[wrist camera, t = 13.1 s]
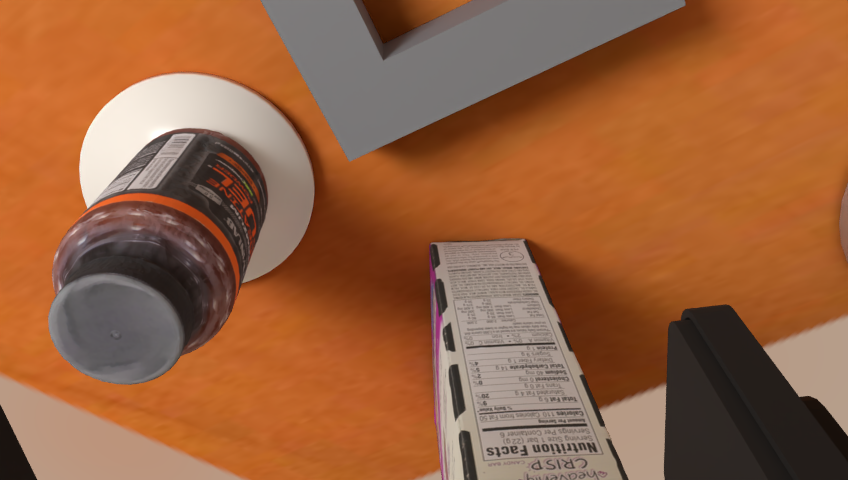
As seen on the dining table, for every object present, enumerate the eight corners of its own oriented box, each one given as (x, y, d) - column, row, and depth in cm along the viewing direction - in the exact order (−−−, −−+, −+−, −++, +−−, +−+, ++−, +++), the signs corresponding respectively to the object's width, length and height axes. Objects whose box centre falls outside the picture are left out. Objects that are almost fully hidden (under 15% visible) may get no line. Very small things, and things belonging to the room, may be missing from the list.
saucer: (353, 229, 34) (353, 235, 33) (170, 311, 35) (166, 318, 35) (239, 30, 29) (236, 33, 29) (35, 133, 31) (29, 138, 30)
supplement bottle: (297, 213, 32) (257, 368, 22) (186, 268, 33) (99, 441, 23) (220, 97, 30) (136, 214, 20) (103, 161, 31) (-34, 302, 21)
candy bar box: (525, 415, 39) (611, 738, 25) (433, 421, 39) (464, 749, 24) (532, 230, 34) (644, 499, 20) (426, 236, 34) (459, 511, 19)
